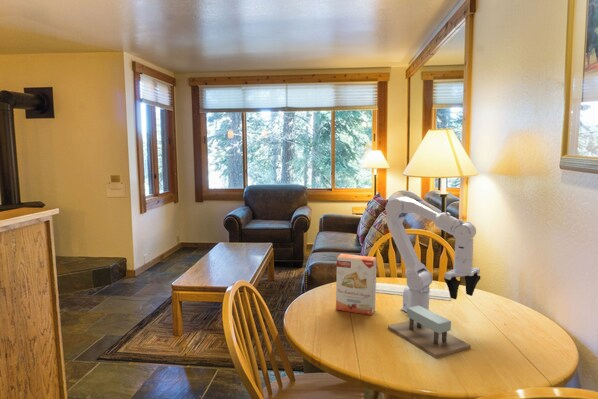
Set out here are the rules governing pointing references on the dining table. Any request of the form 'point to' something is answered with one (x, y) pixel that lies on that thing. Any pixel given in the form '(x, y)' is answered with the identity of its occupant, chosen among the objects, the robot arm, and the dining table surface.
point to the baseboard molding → (399, 289)
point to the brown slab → (429, 338)
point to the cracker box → (356, 283)
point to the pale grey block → (429, 319)
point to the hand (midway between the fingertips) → (461, 296)
